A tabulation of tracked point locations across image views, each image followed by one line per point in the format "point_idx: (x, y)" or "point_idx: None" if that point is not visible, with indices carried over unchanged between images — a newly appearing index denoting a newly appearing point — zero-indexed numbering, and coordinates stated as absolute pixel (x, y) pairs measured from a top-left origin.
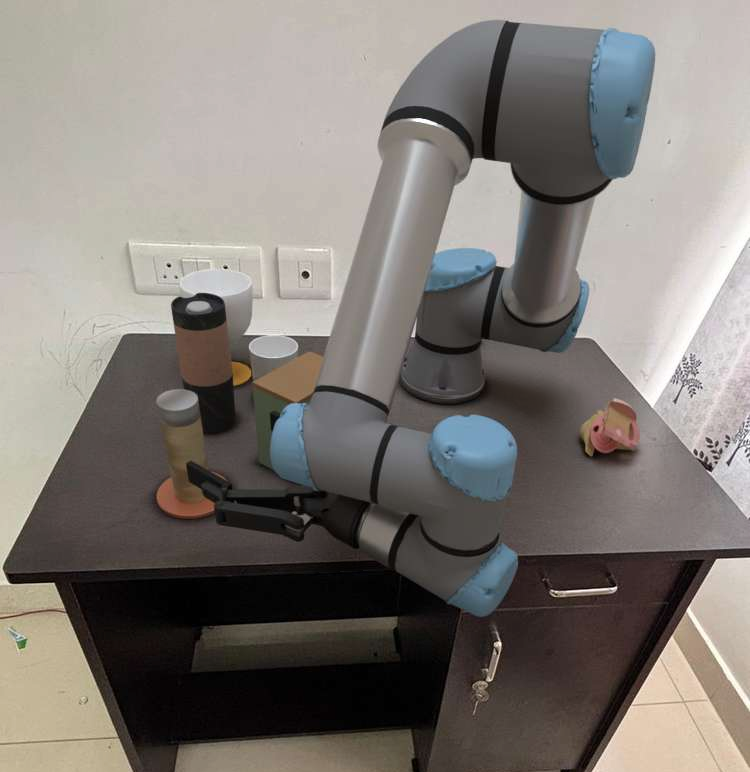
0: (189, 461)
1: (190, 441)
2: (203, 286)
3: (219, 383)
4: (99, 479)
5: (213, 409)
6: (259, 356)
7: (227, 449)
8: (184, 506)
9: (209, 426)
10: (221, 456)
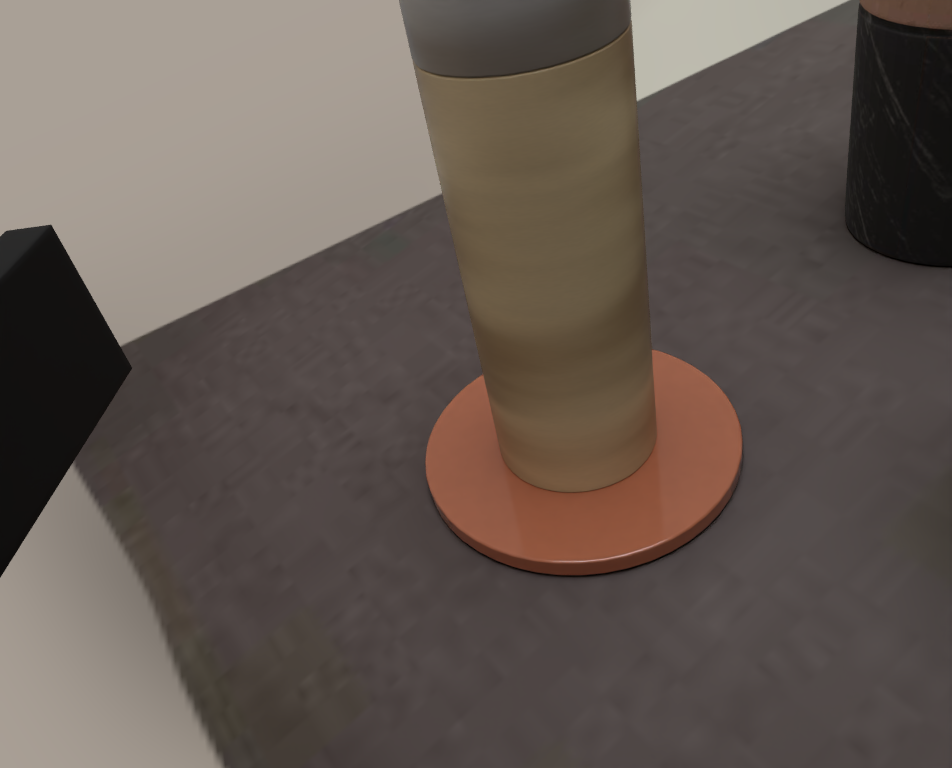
0: (36, 228)
1: (494, 182)
2: None
3: None
4: (441, 261)
5: (925, 152)
6: None
7: (889, 339)
8: (486, 474)
9: (888, 225)
10: (836, 355)
